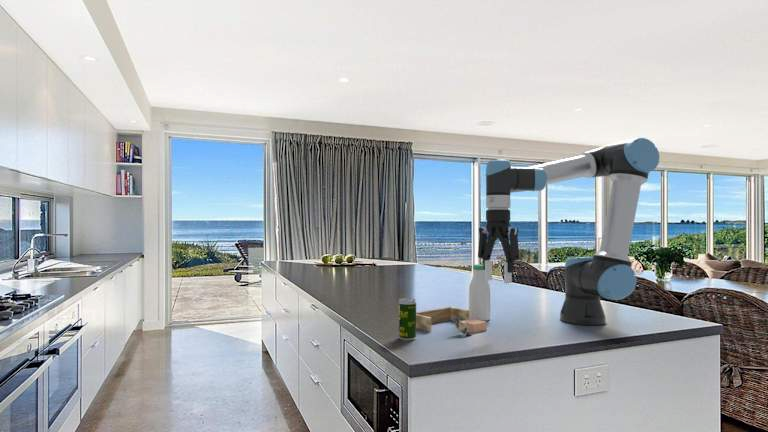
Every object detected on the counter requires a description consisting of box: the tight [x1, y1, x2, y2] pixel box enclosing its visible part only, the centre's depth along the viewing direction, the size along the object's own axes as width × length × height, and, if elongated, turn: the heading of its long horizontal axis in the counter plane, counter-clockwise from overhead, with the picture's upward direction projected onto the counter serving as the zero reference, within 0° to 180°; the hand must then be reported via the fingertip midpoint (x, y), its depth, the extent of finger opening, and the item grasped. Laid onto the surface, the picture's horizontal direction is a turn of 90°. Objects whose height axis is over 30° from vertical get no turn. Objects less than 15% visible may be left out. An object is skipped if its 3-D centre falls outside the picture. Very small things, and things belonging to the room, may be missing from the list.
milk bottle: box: [468, 263, 491, 322], centre depth 170 cm, size 8×8×20 cm
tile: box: [464, 319, 488, 334], centre depth 154 cm, size 6×6×3 cm
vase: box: [452, 316, 473, 338], centre depth 147 cm, size 5×5×6 cm
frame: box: [416, 306, 470, 333], centre depth 161 cm, size 9×20×4 cm, turn 129°
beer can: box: [398, 297, 417, 342], centre depth 142 cm, size 5×5×12 cm
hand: (498, 281), depth 146 cm, fingers open, 7 cm apart
